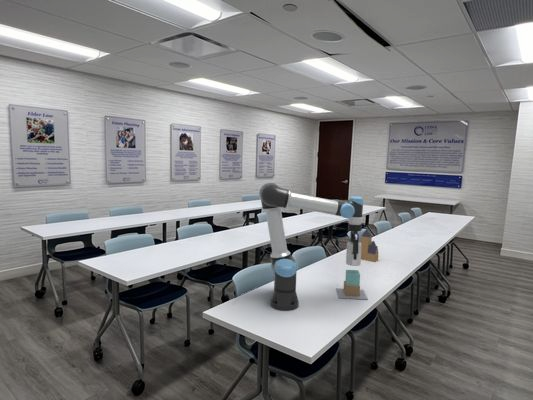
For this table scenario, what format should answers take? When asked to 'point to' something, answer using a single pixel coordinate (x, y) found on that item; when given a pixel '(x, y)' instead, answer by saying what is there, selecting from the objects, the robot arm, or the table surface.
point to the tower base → (342, 296)
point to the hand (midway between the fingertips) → (353, 262)
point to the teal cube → (352, 278)
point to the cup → (349, 254)
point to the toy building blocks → (368, 248)
